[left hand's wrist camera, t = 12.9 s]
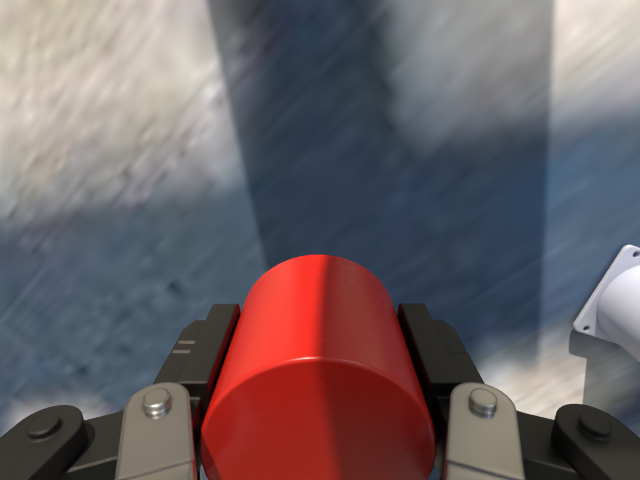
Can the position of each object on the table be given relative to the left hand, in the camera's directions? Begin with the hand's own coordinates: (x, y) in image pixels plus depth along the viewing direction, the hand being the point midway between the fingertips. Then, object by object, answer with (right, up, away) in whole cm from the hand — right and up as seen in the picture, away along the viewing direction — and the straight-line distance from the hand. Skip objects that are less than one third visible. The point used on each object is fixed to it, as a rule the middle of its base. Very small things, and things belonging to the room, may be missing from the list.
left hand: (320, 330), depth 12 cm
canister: (0, 0, 0) cm, 0 cm away
